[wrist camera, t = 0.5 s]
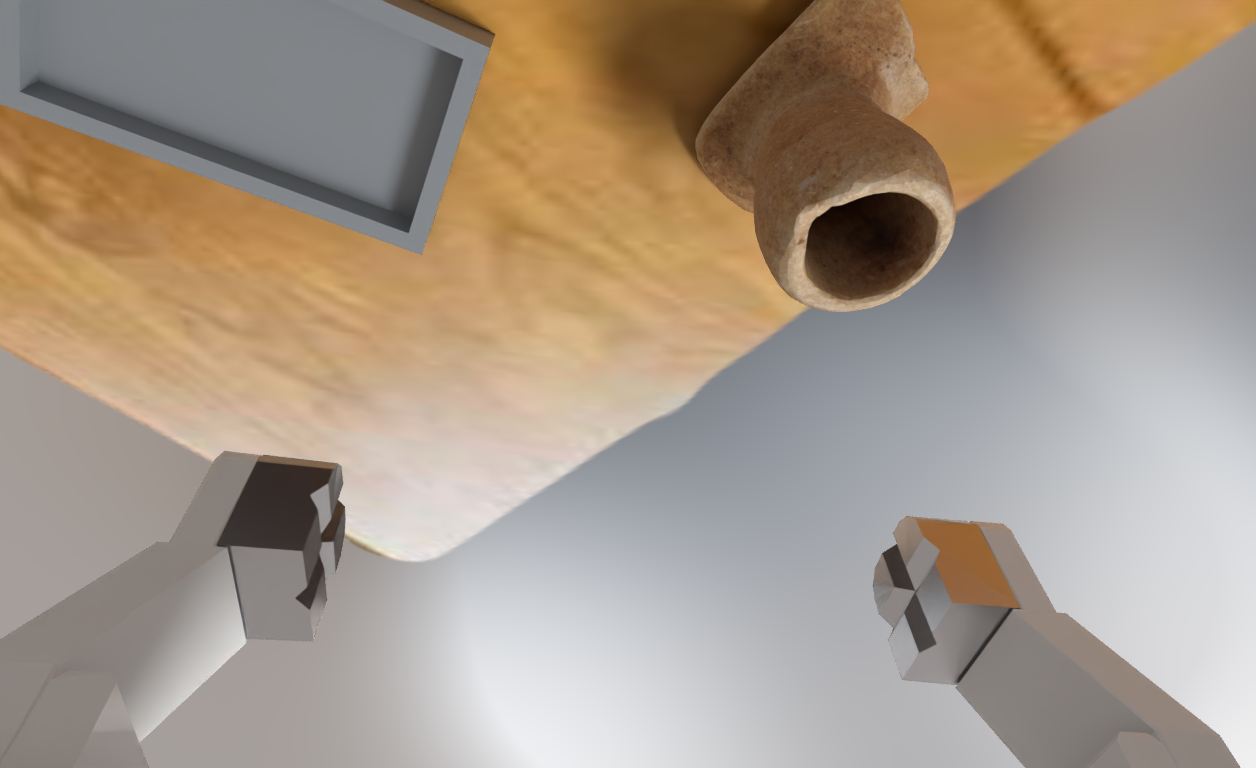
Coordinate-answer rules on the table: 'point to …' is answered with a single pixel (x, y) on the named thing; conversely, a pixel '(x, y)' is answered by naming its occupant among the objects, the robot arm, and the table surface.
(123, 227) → the table surface
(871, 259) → the stone cup
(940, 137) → the table surface
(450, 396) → the table surface
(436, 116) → the utensil tray
